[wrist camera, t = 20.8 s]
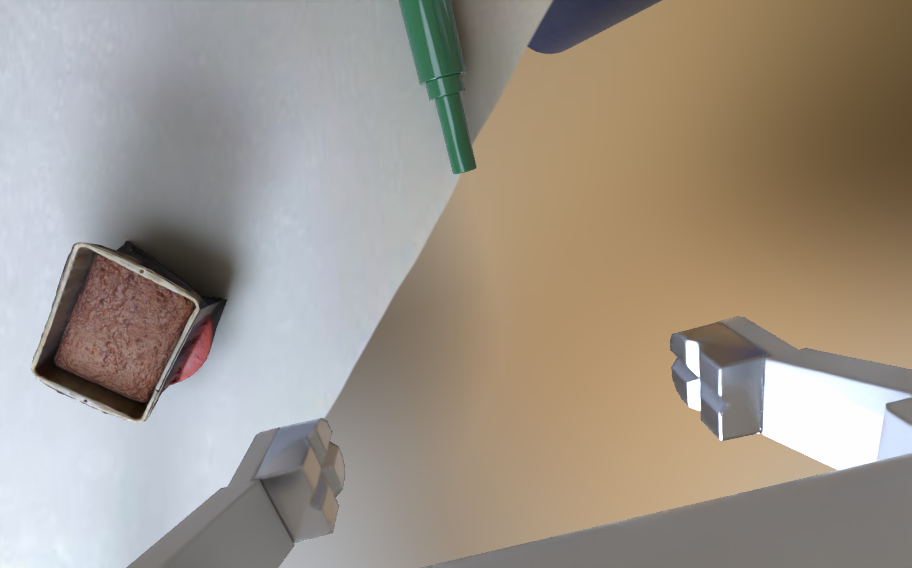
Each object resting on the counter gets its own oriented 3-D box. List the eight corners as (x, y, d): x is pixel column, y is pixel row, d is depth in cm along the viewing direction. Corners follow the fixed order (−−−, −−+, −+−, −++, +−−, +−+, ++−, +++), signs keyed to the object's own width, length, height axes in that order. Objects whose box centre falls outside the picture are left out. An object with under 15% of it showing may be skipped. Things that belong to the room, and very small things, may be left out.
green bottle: (376, -44, 35) (418, -68, 32) (407, -36, 38) (447, -58, 36) (435, 179, 42) (473, 172, 39) (457, 169, 45) (493, 162, 42)
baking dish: (75, 318, 49) (-2, 379, 40) (124, 200, 42) (43, 243, 33) (199, 374, 54) (153, 439, 45) (261, 276, 47) (221, 331, 38)
